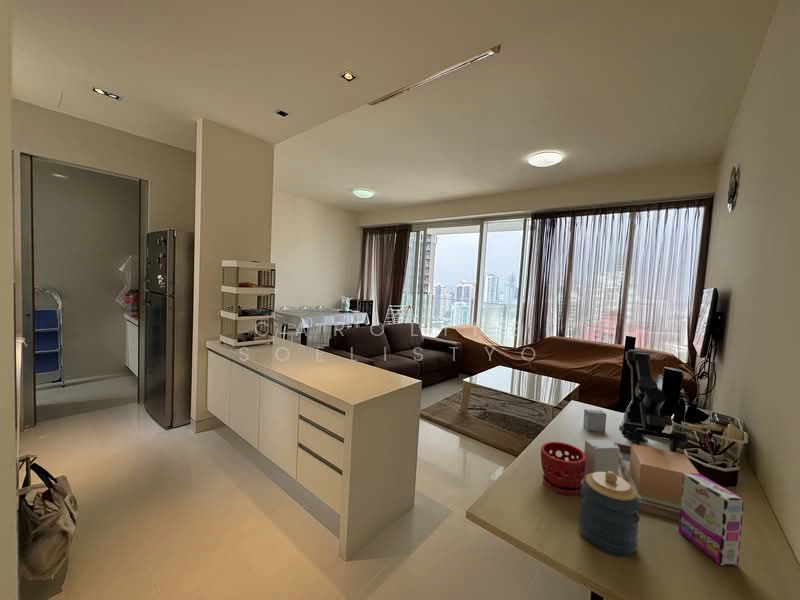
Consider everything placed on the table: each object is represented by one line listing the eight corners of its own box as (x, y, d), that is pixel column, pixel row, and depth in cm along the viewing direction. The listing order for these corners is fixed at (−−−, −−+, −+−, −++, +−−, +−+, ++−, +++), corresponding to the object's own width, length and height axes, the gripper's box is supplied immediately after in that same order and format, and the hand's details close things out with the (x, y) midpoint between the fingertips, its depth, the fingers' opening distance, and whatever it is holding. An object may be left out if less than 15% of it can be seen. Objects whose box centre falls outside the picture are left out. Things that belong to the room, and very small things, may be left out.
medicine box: (600, 428, 154) (601, 410, 154) (605, 432, 150) (606, 413, 150) (582, 426, 155) (584, 408, 155) (587, 431, 151) (588, 412, 150)
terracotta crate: (629, 470, 118) (631, 443, 118) (682, 483, 112) (684, 454, 111) (638, 494, 105) (640, 463, 104) (699, 509, 98) (702, 477, 98)
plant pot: (543, 470, 117) (545, 437, 116) (586, 484, 109) (588, 449, 109) (534, 488, 106) (536, 452, 106) (581, 505, 99) (583, 466, 98)
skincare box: (605, 481, 111) (608, 438, 110) (618, 493, 105) (621, 447, 104) (581, 481, 111) (584, 438, 110) (592, 493, 105) (595, 447, 104)
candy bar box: (739, 566, 78) (746, 499, 78) (720, 567, 78) (726, 499, 77) (694, 530, 90) (699, 472, 89) (677, 531, 89) (682, 472, 88)
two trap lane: (613, 448, 135) (614, 442, 135) (675, 461, 126) (675, 454, 126) (634, 510, 98) (635, 501, 97) (724, 534, 89) (725, 524, 89)
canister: (650, 552, 82) (655, 483, 81) (609, 563, 78) (614, 491, 77) (604, 516, 94) (608, 456, 93) (567, 524, 90) (571, 461, 89)
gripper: (624, 400, 123) (628, 441, 114) (688, 410, 115) (698, 455, 106) (619, 414, 131) (622, 454, 121) (679, 424, 123) (687, 467, 113)
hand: (656, 457), depth 115 cm, fingers open, 9 cm apart
